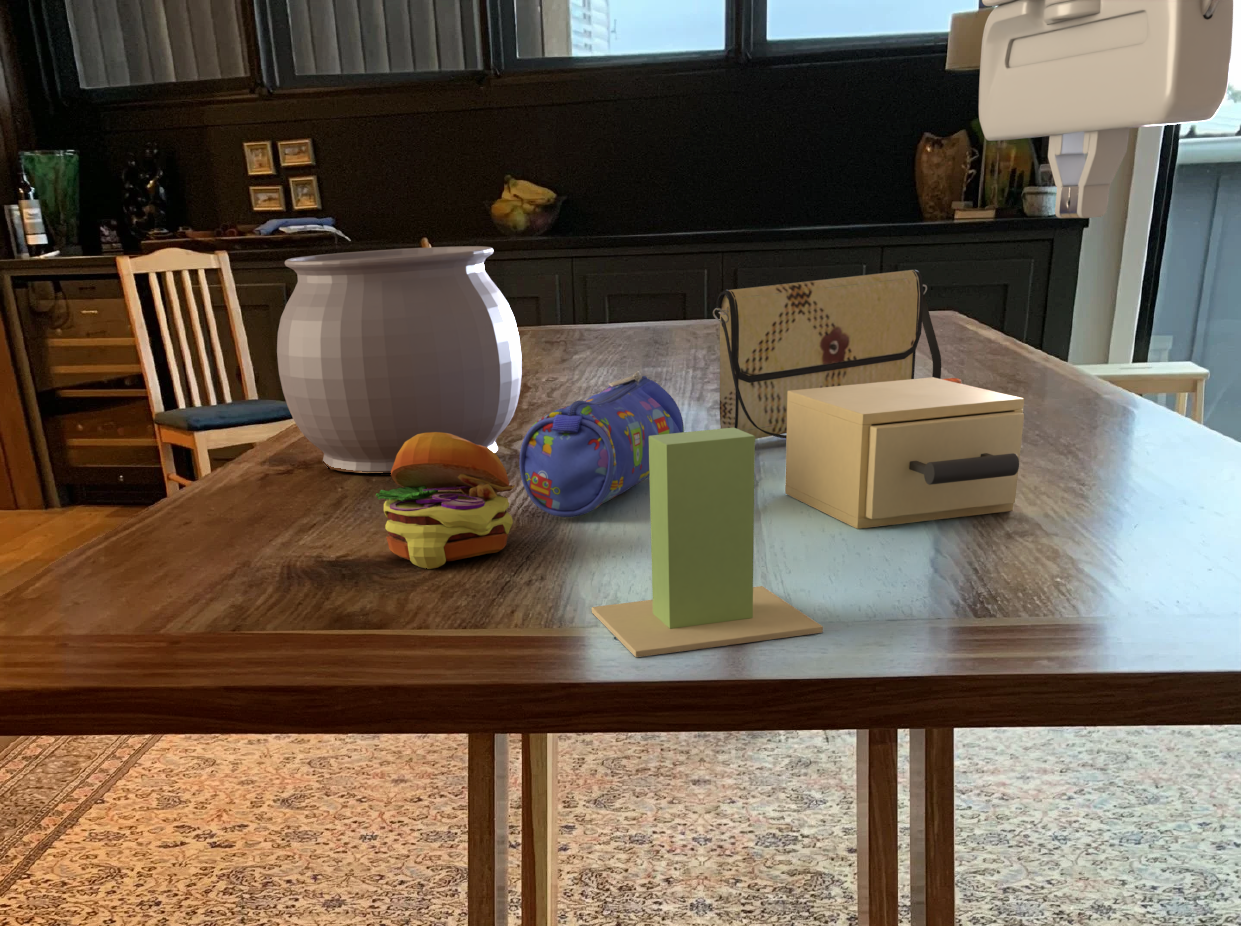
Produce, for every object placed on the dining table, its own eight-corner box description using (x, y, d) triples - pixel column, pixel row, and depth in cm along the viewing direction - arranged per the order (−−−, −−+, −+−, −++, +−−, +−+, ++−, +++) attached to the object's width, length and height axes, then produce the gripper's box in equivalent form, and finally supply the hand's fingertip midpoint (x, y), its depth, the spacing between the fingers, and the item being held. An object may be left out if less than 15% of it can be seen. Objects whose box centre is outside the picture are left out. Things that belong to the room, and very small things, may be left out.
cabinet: (1012, 511, 105) (1024, 398, 101) (857, 529, 103) (862, 414, 99) (925, 478, 118) (933, 377, 114) (784, 493, 115) (787, 390, 111)
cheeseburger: (359, 569, 99) (353, 429, 96) (414, 567, 109) (410, 440, 106) (485, 569, 96) (483, 426, 94) (530, 567, 106) (528, 438, 104)
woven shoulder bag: (748, 455, 132) (749, 292, 125) (705, 446, 137) (704, 290, 130) (954, 416, 146) (966, 268, 139) (908, 410, 151) (917, 267, 144)
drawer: (1045, 514, 100) (1056, 421, 97) (897, 531, 98) (903, 437, 95) (932, 473, 116) (938, 391, 112) (801, 487, 113) (804, 404, 110)
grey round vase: (499, 481, 126) (481, 254, 117) (255, 485, 131) (220, 267, 122) (548, 435, 148) (536, 241, 139) (338, 440, 152) (313, 252, 143)
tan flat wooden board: (762, 591, 89) (762, 585, 89) (823, 632, 80) (823, 626, 80) (591, 612, 86) (591, 606, 86) (635, 657, 78) (635, 651, 78)
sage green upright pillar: (733, 603, 85) (734, 427, 80) (752, 618, 82) (755, 435, 77) (652, 614, 84) (648, 435, 79) (669, 629, 81) (666, 444, 76)
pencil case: (605, 470, 129) (602, 366, 124) (690, 472, 126) (689, 366, 121) (517, 522, 111) (509, 403, 106) (613, 526, 108) (608, 403, 103)
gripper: (1284, -91, 67) (1238, 213, 73) (1056, -27, 84) (1035, 214, 91) (1176, -88, 65) (1139, 222, 72) (967, -23, 83) (953, 221, 90)
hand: (1079, 217), depth 81 cm, fingers closed
